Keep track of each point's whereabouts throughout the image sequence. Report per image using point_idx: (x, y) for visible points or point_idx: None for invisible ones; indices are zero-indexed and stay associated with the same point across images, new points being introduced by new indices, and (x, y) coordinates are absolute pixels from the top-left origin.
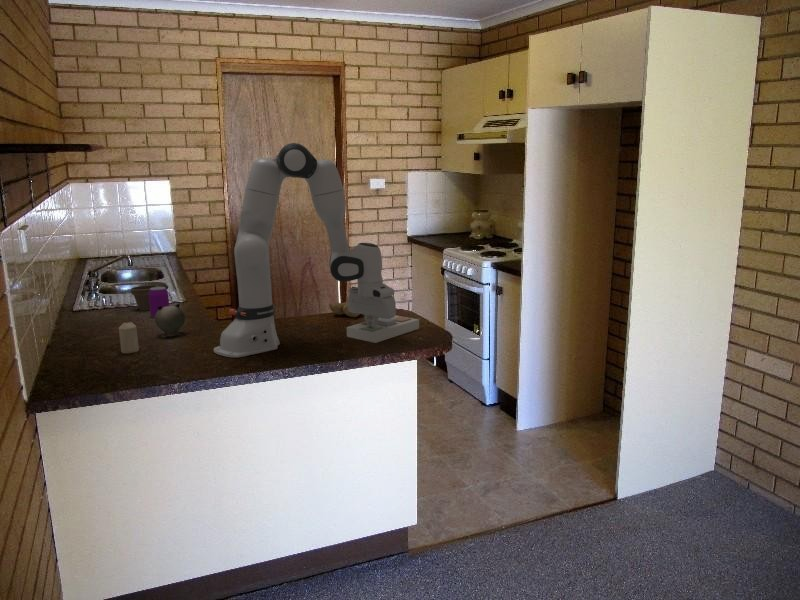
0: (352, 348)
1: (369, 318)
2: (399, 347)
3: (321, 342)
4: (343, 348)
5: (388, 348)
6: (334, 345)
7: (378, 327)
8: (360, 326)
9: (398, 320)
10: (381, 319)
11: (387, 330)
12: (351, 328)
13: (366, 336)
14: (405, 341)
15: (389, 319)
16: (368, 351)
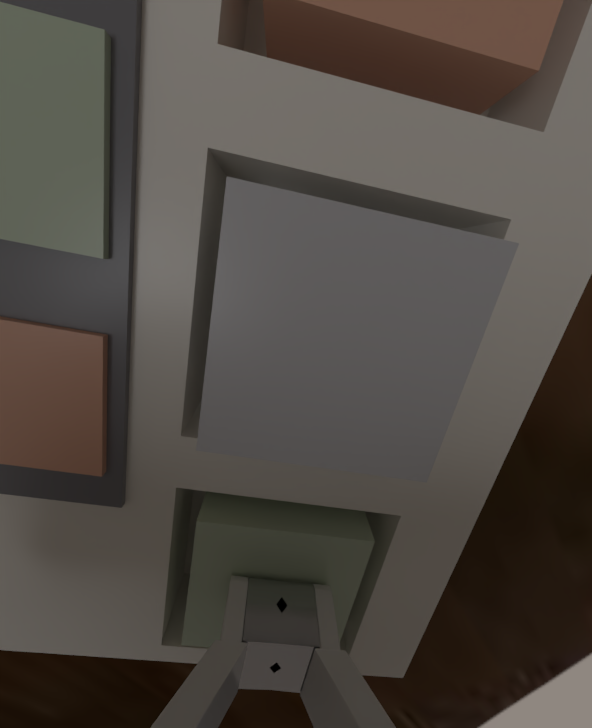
0: (298, 701)
1: (207, 724)
2: (573, 590)
3: (31, 699)
4: (249, 718)
5: (509, 628)
6: (158, 705)
7: (349, 566)
8: (100, 576)
9: (461, 49)
10: (239, 369)
11: (457, 537)
12: (73, 651)
13: None
14: (582, 468)
15: (386, 304)
16: (416, 701)
